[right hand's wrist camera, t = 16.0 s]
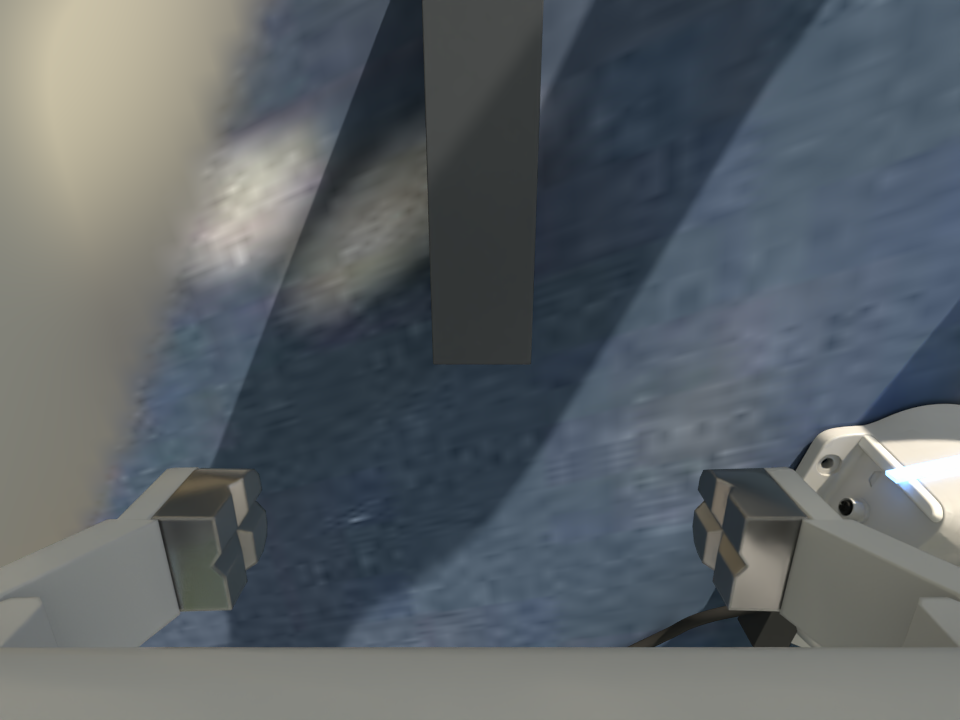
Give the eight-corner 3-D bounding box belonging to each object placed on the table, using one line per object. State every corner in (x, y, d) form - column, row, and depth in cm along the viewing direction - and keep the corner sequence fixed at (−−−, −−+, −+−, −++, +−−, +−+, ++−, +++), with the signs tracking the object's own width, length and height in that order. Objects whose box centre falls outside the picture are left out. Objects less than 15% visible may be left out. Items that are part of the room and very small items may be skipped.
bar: (518, 313, 36) (530, 364, 28) (444, 313, 36) (433, 364, 28) (529, -118, 28) (551, -239, 20) (434, -118, 28) (414, -239, 20)
